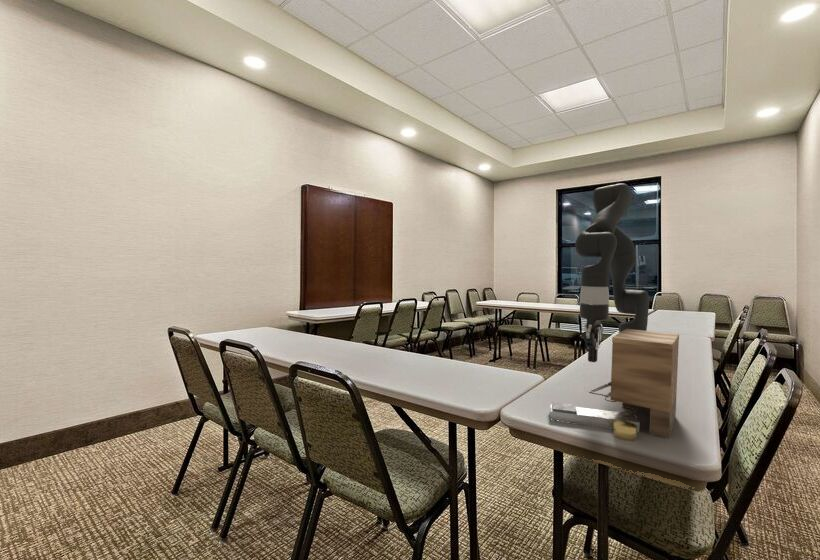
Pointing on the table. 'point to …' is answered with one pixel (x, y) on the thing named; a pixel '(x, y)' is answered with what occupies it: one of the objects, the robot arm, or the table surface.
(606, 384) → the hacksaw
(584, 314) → the robot arm
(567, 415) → the bar
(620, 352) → the wooden grain block
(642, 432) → the table surface
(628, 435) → the puck
